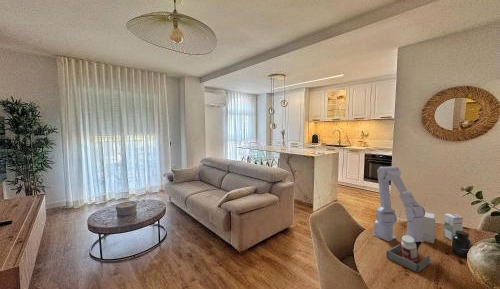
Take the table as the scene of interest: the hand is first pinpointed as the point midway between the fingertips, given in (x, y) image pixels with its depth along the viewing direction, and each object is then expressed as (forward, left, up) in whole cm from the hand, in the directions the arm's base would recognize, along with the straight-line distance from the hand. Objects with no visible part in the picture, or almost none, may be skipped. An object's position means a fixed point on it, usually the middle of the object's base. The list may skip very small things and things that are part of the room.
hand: (413, 254), depth 109 cm
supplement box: (-5, +27, -2) cm, 27 cm away
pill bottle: (0, -3, -1) cm, 3 cm away
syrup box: (+4, +40, -2) cm, 40 cm away
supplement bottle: (+12, +23, -2) cm, 26 cm away
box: (0, -5, -1) cm, 6 cm away
